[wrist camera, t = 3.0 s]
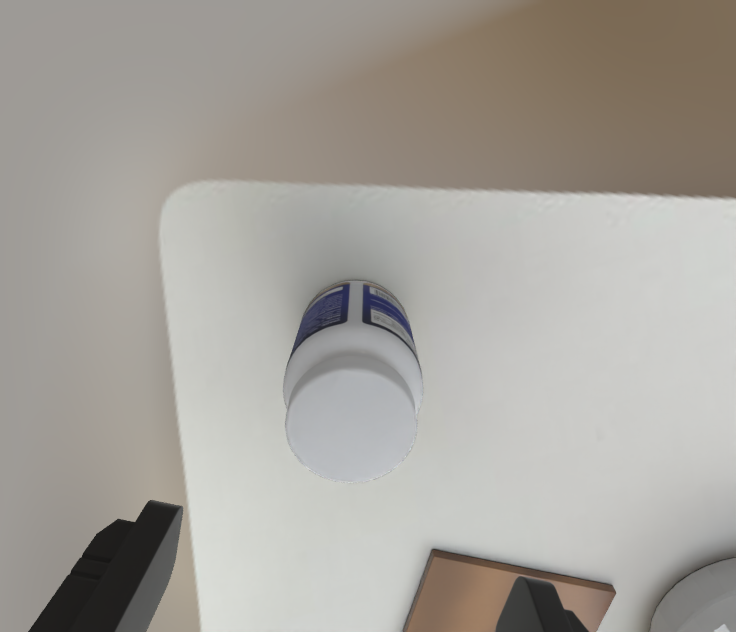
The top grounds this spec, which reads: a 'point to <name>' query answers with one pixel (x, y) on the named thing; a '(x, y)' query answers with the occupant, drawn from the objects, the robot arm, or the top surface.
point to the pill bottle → (353, 384)
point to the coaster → (491, 595)
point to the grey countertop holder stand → (700, 602)
